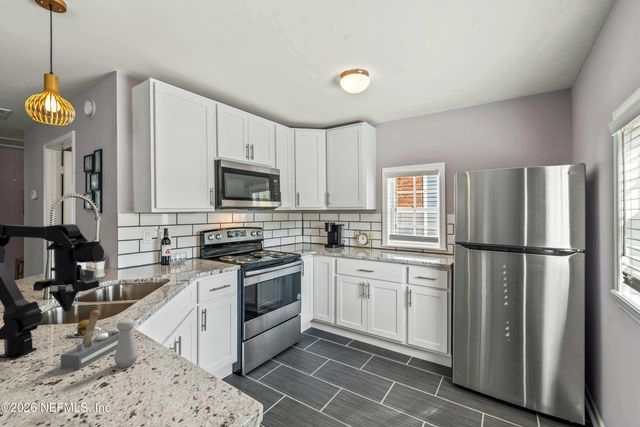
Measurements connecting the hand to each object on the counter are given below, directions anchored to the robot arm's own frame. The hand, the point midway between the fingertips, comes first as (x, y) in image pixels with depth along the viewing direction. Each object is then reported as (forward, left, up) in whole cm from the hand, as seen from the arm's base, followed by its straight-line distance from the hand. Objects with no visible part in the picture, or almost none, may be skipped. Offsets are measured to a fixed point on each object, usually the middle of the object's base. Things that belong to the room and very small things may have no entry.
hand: (67, 311), depth 98 cm
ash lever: (+11, -5, -8) cm, 15 cm away
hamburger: (-8, +14, -14) cm, 22 cm away
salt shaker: (+26, -6, -13) cm, 30 cm away
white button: (+11, +1, -9) cm, 14 cm away
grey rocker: (+11, +5, -8) cm, 15 cm away
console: (+11, -1, -13) cm, 17 cm away
